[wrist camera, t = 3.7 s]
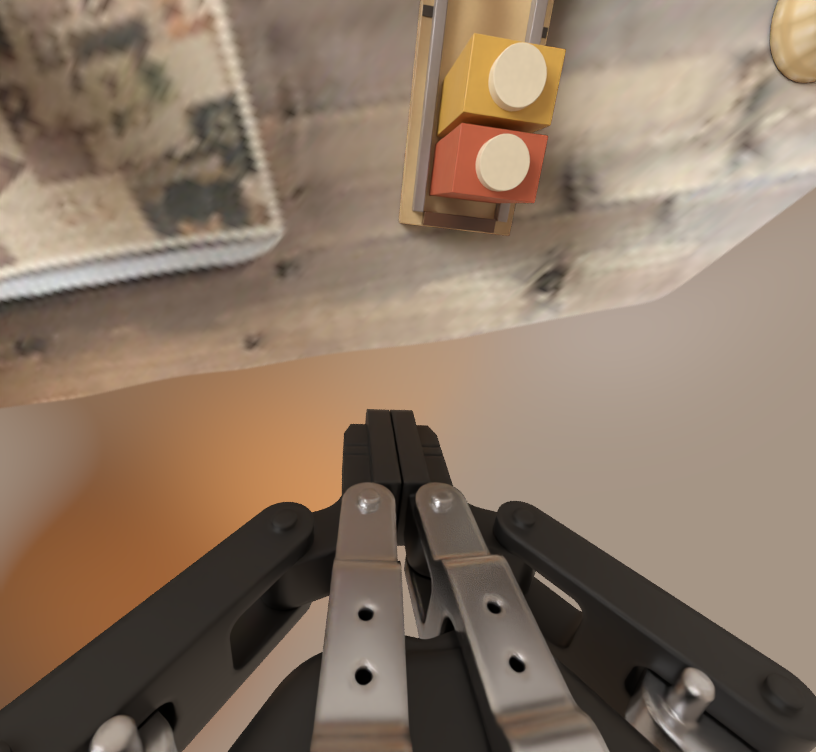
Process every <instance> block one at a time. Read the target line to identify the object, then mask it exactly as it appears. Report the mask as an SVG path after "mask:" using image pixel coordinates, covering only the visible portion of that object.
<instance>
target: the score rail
mask: <svg viewBox="0 0 816 752" xmlns="http://www.w3.org/2000/svg"><path fill="white" fill-rule="evenodd" d="M553 4H554V0H420V9H419V19H418V29H417V39H416V49H415V60H414V70H413V80H412V90H411V100H410V111H409V121H408V131H407V141H406V151H405V162H404V172H403V182H402V192H401V202H400V212H399V223H402V224H411V225H420V226H428V227H437V228H445V229H454V230H463V231H471V232H480V233H488V234H497V235H506V236H509V235H510V230H511V224H512V219H513V214H514V209H515V203H485V202H477V201H470V200H462V199H454V198H446V197H438V196H430V195H429V192H430V184H431V176H432V168H433V159H434V151H435V144H437V143H438V142H439V141H440V140H441V139H443V138H444V137H437V136H436V134H437V126H438V118H439V109H440V101H441V93H442V85H443V80H444V78H445V77H446V75H447V74H448V72H449V71H450V69H451V68H452V66H453V65H454V63H455V62H456V60H457V58H458V57H459V55H460V54H461V52H462V51H463V49H464V48H465V46H466V45H467V43H468V42H469V40H470V39H471V37H472V35H473V34H474V33H477V34H483V35H488V36H494V37H499V38H505V39H510V40H516V41H521V42H527V43H532V44H538V45H544V46H546V40H547V35H548V30H549V25H550V19H551V14H552V9H553Z"/></svg>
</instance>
